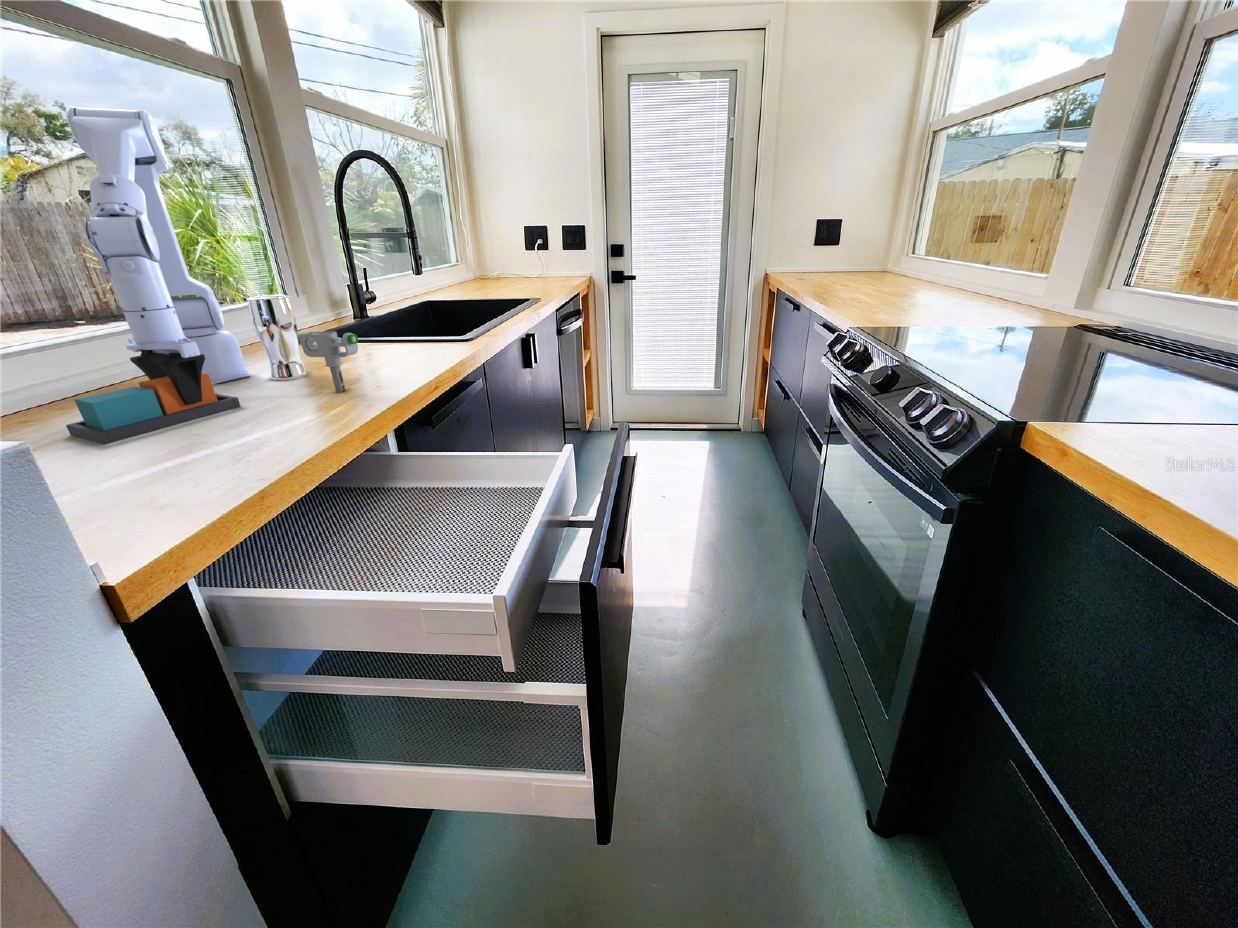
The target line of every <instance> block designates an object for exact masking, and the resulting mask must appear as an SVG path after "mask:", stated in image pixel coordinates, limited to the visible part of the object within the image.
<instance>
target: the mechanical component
mask: <svg viewBox="0 0 1238 928" xmlns="http://www.w3.org/2000/svg"><path fill="white" fill-rule="evenodd" d="M358 343H359V337H358V335H357V334H355V333H352V332H345V333H344V334H342V337H340V336H338V333H337V331H307V332H303V333H298V344H300V345H301V348H302V351H303V353H304V355H306V356H307V357H309V358H324V361H325V366H326V367H327V368H329V371H330V375H331V378H332V383H333V386H334V390H335V393H336V394H337V393H343V391H347V389H346V386H345V382H344V377H343V373H342V368H341V366H342V365H344V362H342V358H346V357H350V356H353V355H355V354H357V353H358V351H359V346H358ZM341 348H344V349H345V351H342V350H341Z"/></svg>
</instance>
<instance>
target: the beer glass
mask: <svg viewBox="0 0 1238 928" xmlns="http://www.w3.org/2000/svg"><path fill="white" fill-rule="evenodd" d="M246 302H247V307H248V312H249V316H250V320H251V324H252V327H253V329H254V332H255V333H256V334H255V335H256V336H257V338H258V340H259V342H260V345H261V346H262V348H263V350H264V352H265V354H266V357H267V360H268V362H269V369H270V377H271V378H270V379H272V380H273V381H289V380H295V379H300V378H304V377H305V376H307V375H308V372H307V370H306V368H305V365H304V364H303V361H302V358H301V354H300V347H299V341H298V334H299V333H298V327H297V321H296V317H295V314H294V311H293V308H292V305H291V302H290V299H289V295H287V294H267V295H266V294H265V295H257V296H249V297H246Z"/></svg>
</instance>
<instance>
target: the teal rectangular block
mask: <svg viewBox="0 0 1238 928" xmlns="http://www.w3.org/2000/svg"><path fill="white" fill-rule="evenodd" d="M74 403H75V404H76V407H77V409H78V412H79V414H80V415H81V417H82V421H84V422H85V424H86V426H87V427H89V428H93V429H97V430H101V431H106V430H110V429H113V428H117V427H121V426H125V425H129V424H133V423H136V422H140V421H144V420H148V419H152V418H156V417H159V416H163V413H162V411H161V408H160V406H159V403H158V401H157V398H156V396H155V393H154V391H153V390H152V389H147V388H141V387H140V386H131V387H130V386H129V387H128V388H122V389H117V390H112V391H108V392H102V393H98V394H93V395H89V396H84V397H79V398H75V399H74Z"/></svg>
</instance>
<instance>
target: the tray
mask: <svg viewBox="0 0 1238 928" xmlns="http://www.w3.org/2000/svg"><path fill="white" fill-rule="evenodd" d="M215 394H216V397H217V400H218V401H217V402H213V403H209V404H205V405H202V406H198V407H194V408H190V409H186V410H182V411H179V412H175V413H171V414H167V415H163V416H159V417H156V418H152V419H148V420H144V421H140V422H136V423H133V424H129V425H125V426H121V427H117V428H113V429H110V430H106V431H101V430H97V429H93V428H89V427H87V426H86V424H85V422H84V420H80V421H77V422H73V423H68V424H65V426H66V429H67V431H68V433H69V435H70V436H71V437H74V438H79V439H82V440H86V441H90V442H93V443H97V444H99V445H103V446H105V445H108V444H111V443H115V442H119V441H123V440H127V439H130V438H133V437H137V436H141V435H144V434H148V433H151V432H155V431H159V430H162V429H166V428H169V427H173V426H177V425H180V424H181V425H182V424H184V423H187V422H190V421H194V420H199V419H202V418H206V417H208V416H212V415H216V414H219V413H224V412H227V411H230V410H234V409H239V408H241V403H240V400H239V397H237V396H233V395H225V394H220V393H215Z"/></svg>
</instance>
